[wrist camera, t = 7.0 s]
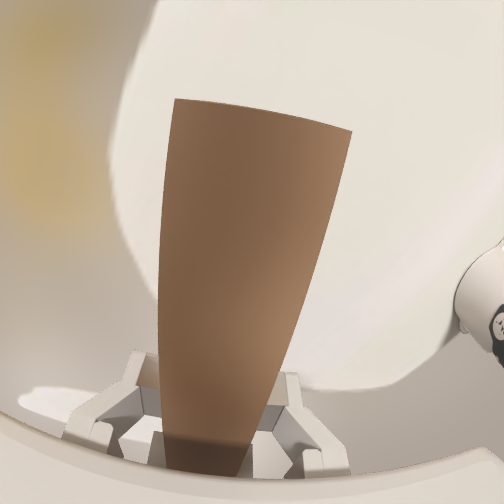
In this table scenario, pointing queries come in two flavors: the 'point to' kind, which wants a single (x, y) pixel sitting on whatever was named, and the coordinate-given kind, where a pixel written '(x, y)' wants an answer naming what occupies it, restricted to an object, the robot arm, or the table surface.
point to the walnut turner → (234, 271)
